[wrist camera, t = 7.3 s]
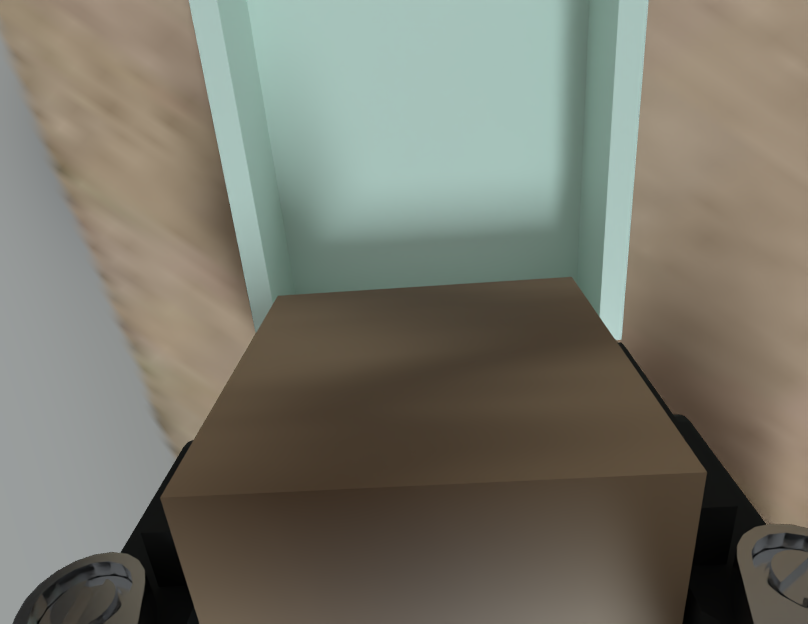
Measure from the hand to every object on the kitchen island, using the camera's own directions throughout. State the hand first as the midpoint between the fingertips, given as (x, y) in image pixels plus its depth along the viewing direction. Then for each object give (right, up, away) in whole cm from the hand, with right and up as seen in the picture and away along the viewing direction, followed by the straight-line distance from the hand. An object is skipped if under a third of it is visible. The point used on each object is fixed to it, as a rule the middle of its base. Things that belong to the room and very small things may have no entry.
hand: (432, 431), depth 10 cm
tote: (0, +13, +15) cm, 20 cm away
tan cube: (0, 0, +1) cm, 1 cm away
